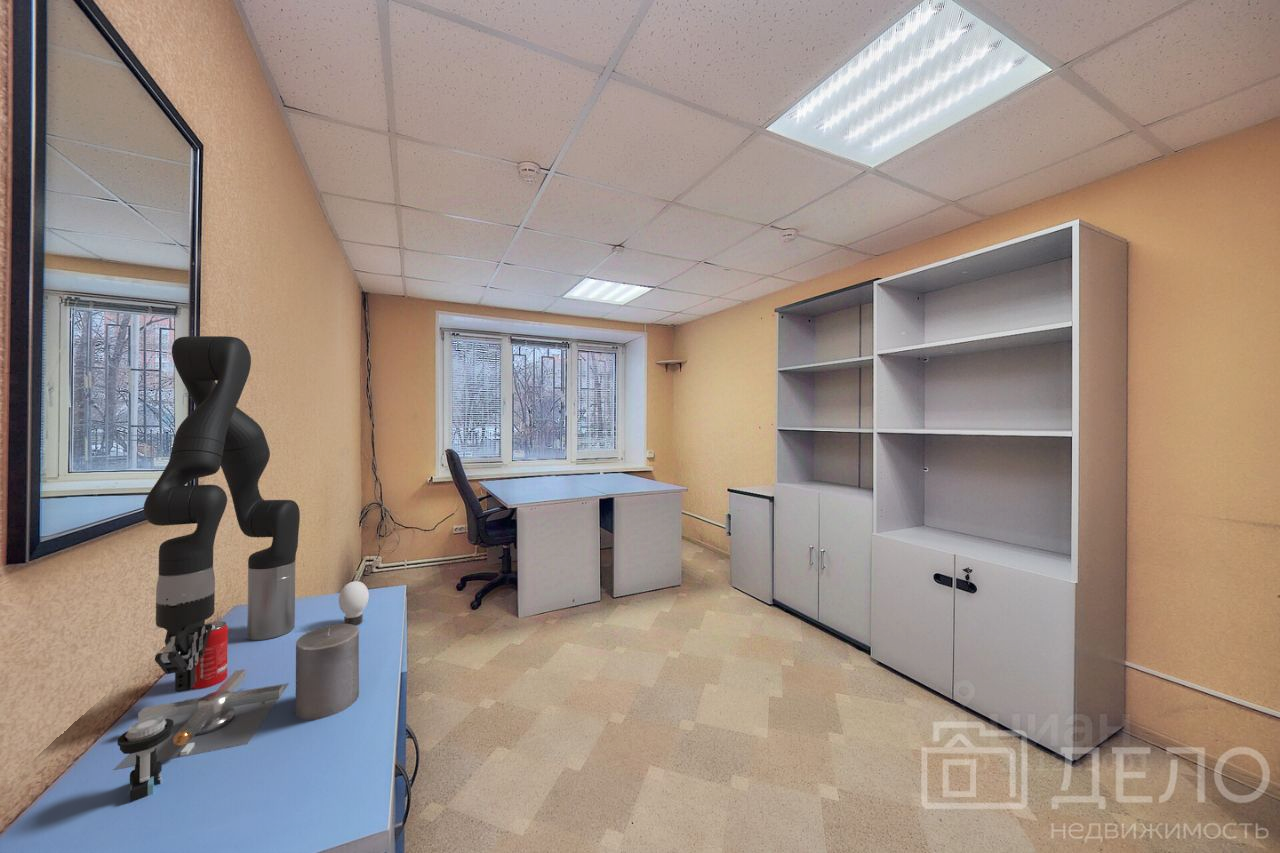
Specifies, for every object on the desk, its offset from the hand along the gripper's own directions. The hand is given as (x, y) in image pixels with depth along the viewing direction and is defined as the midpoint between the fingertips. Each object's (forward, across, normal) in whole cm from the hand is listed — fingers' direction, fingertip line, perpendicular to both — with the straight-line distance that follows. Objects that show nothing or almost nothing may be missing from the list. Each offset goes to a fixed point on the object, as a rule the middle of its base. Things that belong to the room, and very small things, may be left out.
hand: (185, 689), depth 81 cm
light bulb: (+4, -31, +20) cm, 37 cm away
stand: (+4, +7, +7) cm, 11 cm away
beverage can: (+4, -8, 0) cm, 9 cm away
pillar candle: (+4, +8, +24) cm, 26 cm away
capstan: (+3, +7, +7) cm, 10 cm away
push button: (+4, +21, +5) cm, 22 cm away
